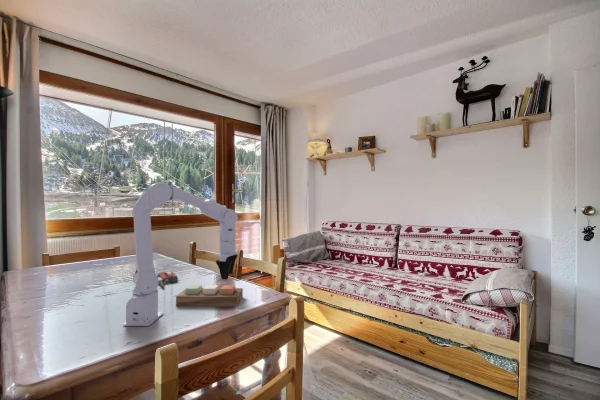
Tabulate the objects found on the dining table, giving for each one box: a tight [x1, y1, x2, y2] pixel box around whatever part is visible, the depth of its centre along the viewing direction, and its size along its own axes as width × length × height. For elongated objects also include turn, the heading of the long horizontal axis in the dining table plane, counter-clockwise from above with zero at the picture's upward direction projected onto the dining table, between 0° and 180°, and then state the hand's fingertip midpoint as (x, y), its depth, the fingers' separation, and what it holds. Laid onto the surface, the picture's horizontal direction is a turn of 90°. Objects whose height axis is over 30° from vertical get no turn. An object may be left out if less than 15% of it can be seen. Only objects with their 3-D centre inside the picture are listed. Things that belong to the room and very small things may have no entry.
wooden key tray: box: [175, 287, 244, 308], centre depth 108 cm, size 10×22×4 cm, turn 90°
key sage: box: [185, 284, 203, 294], centre depth 108 cm, size 4×4×2 cm
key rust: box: [220, 284, 236, 295], centre depth 108 cm, size 4×4×2 cm
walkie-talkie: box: [156, 270, 179, 288], centre depth 132 cm, size 9×4×20 cm
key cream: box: [202, 284, 219, 295], centre depth 108 cm, size 4×4×2 cm
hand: (227, 276), depth 108 cm, fingers open, 7 cm apart
